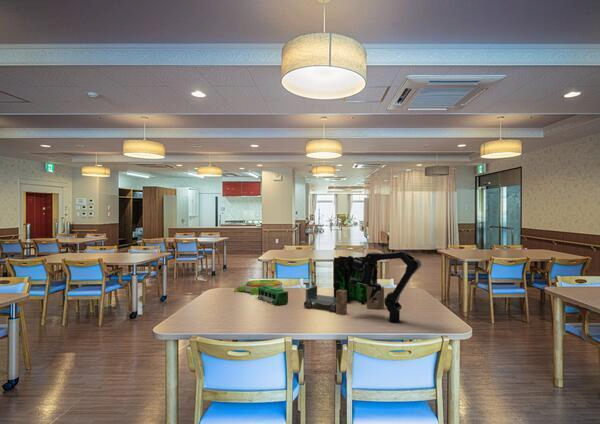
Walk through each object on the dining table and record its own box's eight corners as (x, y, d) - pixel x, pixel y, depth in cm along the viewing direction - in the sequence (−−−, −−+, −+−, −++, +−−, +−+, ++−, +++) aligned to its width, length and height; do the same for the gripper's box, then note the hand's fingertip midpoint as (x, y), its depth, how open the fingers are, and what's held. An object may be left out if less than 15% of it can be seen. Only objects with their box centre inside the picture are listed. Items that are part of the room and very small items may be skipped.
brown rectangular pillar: (346, 313, 223) (346, 290, 223) (343, 314, 219) (343, 291, 219) (339, 311, 226) (339, 289, 226) (336, 313, 221) (336, 291, 221)
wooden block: (383, 309, 232) (384, 281, 232) (367, 308, 233) (367, 281, 233) (383, 307, 236) (383, 280, 236) (366, 307, 237) (366, 280, 237)
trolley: (346, 306, 238) (346, 288, 238) (336, 312, 223) (336, 293, 223) (315, 302, 249) (315, 285, 249) (303, 308, 234) (303, 289, 235)
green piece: (235, 288, 300) (235, 279, 300) (281, 287, 303) (281, 278, 303) (232, 296, 271) (232, 286, 271) (282, 295, 274) (282, 285, 274)
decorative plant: (352, 306, 239) (352, 261, 239) (326, 297, 265) (326, 256, 265) (384, 301, 254) (384, 258, 254) (357, 293, 279) (357, 254, 280)
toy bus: (271, 297, 267) (271, 283, 267) (288, 304, 244) (288, 290, 244) (257, 298, 261) (257, 285, 261) (274, 307, 238) (274, 291, 238)
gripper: (381, 272, 222) (375, 296, 224) (352, 265, 224) (346, 289, 225) (384, 277, 211) (378, 302, 213) (353, 270, 212) (347, 295, 214)
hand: (362, 297), depth 217 cm, fingers open, 9 cm apart
